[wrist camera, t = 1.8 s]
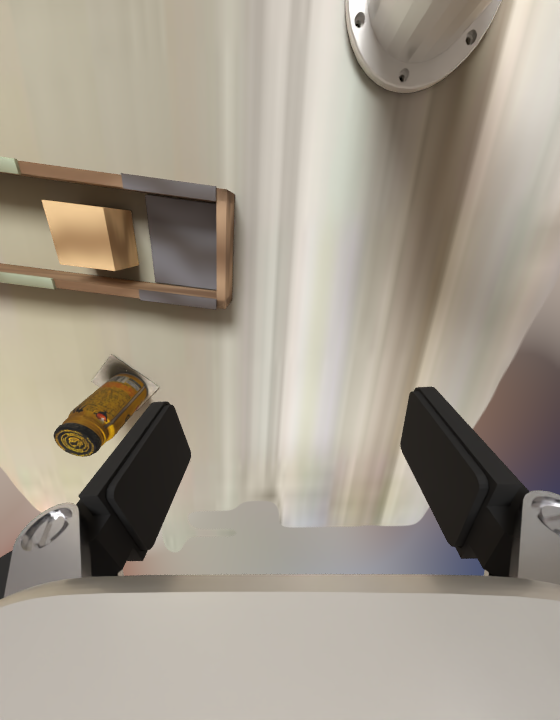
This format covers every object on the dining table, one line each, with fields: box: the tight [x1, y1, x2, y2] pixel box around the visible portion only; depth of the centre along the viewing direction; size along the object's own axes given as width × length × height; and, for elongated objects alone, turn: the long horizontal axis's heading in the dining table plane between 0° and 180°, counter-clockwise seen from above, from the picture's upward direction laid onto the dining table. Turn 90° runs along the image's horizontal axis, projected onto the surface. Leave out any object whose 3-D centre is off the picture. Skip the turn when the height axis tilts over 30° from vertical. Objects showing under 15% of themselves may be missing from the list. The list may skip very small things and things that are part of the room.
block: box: [42, 200, 139, 271], centre depth 28 cm, size 6×6×5 cm
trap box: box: [0, 157, 235, 310], centre depth 28 cm, size 12×46×4 cm, turn 83°
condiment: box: [54, 354, 159, 457], centre depth 35 cm, size 7×8×12 cm
